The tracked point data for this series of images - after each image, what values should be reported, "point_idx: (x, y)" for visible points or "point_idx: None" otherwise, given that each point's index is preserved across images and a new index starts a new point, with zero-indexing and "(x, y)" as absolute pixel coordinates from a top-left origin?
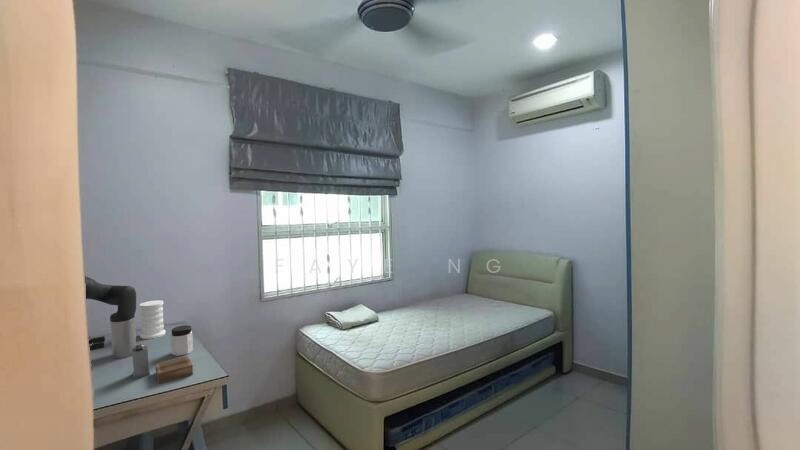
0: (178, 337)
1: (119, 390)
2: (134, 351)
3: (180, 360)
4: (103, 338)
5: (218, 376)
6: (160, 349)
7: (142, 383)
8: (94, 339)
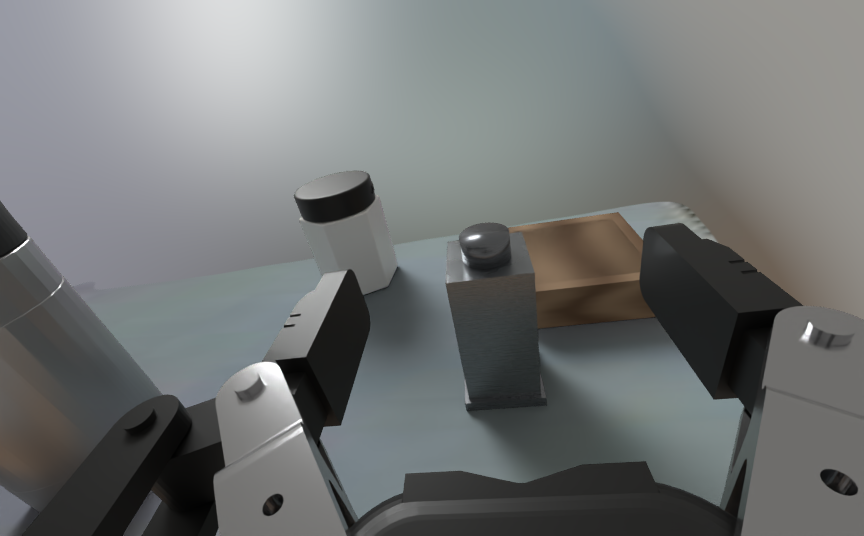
0: (370, 212)
1: (707, 464)
2: (518, 268)
3: (540, 238)
4: (356, 290)
5: (668, 205)
6: (249, 331)
7: (637, 367)
8: (321, 355)
